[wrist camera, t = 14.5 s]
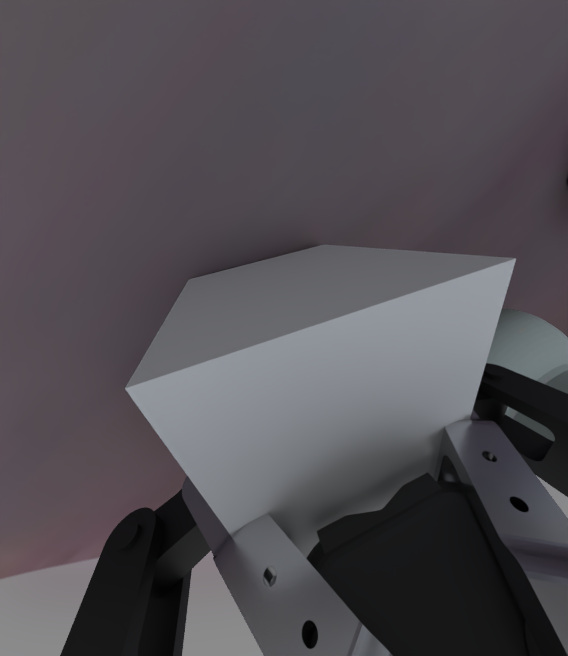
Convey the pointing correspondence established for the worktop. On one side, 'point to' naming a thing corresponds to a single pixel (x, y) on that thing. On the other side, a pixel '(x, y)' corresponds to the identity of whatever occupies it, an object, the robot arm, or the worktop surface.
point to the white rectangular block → (319, 378)
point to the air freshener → (530, 355)
